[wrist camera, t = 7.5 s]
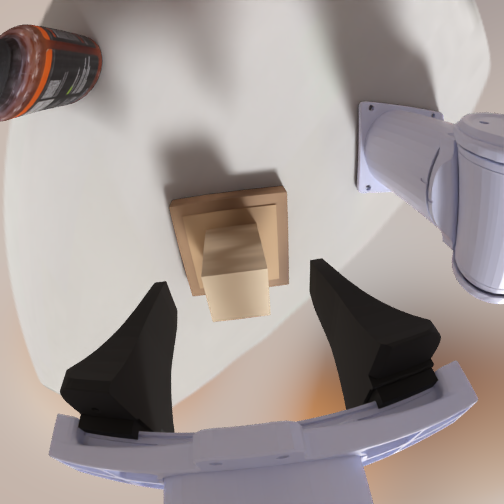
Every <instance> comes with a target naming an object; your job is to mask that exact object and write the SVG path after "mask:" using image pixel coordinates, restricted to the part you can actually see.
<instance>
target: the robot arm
mask: <svg viewBox="0 0 504 504" xmlns="http://www.w3.org/2000/svg"><path fill="white" fill-rule="evenodd" d="M370 105H371V106H372V109H371V110H369V106H370ZM432 114H433V117H432ZM367 185H369V188H368V189H366V186H367ZM357 190H358V191H359V192H360V193H375V192H393V193H395V194H396V195H397V196H399V197H400V198H401V199H403V200H404V201H405V202H407V203H408V204H409V205H411V206H412V207H413V208H414V209H416V210H417V211H418V212H419V213H421V214H422V215H423V216H424V217H426V218H427V219H428V220H429V221H430V222H432V223H433V224H434V225H435V226H436V227H438V228H439V229H440V231H441V233H442V236H443V242H445V244H447V245H448V246H449V247H450V248H451V249H452V250H453V256H452V268H453V272H454V275H455V277H456V279H457V280H458V282H459V284H460V285H461V286H462V287H463V288H464V289H465V290H466V291H467V292H469V294H471V295H473V296H474V297H476V298H478V299H480V300H482V301H485V302H488V303H494V304H504V114H498V113H488V112H482V113H481V112H480V113H471V114H467V115H465V116H463V117H462V118H461V120H460V121H458V122H457V123H456V124H453V123H449V122H446V121H444V116H443V114H442V113H441V112H436V111H431V110H426V109H420V108H415V107H408V106H402V105H394V104H386V103H377V102H366V101H363V102H361V103H360V104H359V149H358V174H357ZM310 295H311V298H312V302H313V305H314V308H315V311H316V313H317V315H318V318H319V320H320V322H321V325H322V327H323V329H324V332H325V334H326V336H327V339H328V341H329V343H330V346H331V349H332V352H333V355H334V359H335V363H336V366H337V370H338V374H339V378H340V382H341V387H342V391H343V395H344V400H345V406H346V410H344V411H340V412H337V413H333V414H329V415H325V416H321V417H316V418H312V419H307V420H303V421H297V422H293V421H277V422H269V423H262V424H255V425H246V426H236V427H224V428H212V429H204V430H200V431H198V432H196V433H174V425H173V415H172V400H171V367H172V359H173V352H174V345H175V338H176V331H177V308H176V306H175V303H174V301H173V298H172V296H171V293H170V290H169V288H168V285H167V282H166V281H164V282H157V283H154V285H153V286H152V287H151V289H150V290H149V291H148V293H147V294H146V295H145V297H144V298H143V300H142V301H141V302H140V304H139V305H138V306H137V308H136V309H135V310H134V311H133V313H132V314H131V315H130V316H129V318H128V319H127V320H126V321H125V323H124V324H123V325H122V326H121V327H120V328H119V329H118V330H117V331H116V332H115V333H114V334H113V335H112V336H111V337H110V338H109V339H108V340H107V341H106V342H105V343H104V344H103V345H102V346H100V347H99V348H98V349H97V350H96V351H94V352H93V353H92V354H91V355H89V356H88V357H86V358H85V359H84V360H82V361H81V362H79V363H77V364H76V365H74V366H73V367H71V368H69V369H67V371H66V374H65V377H64V380H63V383H62V386H61V389H60V394H61V396H62V397H63V399H64V400H65V401H66V402H67V403H69V404H70V405H71V406H72V407H73V408H74V409H75V410H77V411H78V412H79V413H80V414H81V416H80V419H78V418H76V417H73V416H68V415H63V414H58V415H57V419H56V423H55V427H54V432H53V436H52V441H51V445H50V451H49V456H50V457H52V458H54V459H56V460H58V461H59V462H62V463H63V464H65V465H67V466H69V467H72V468H73V469H75V470H78V471H80V472H83V473H87V474H91V475H94V476H98V477H102V478H106V479H110V480H115V481H118V482H123V483H128V484H133V485H138V486H143V487H150V488H156V489H164V504H373V500H372V497H371V493H370V490H369V485H368V482H367V478H366V475H365V471H364V468H363V466H366V465H368V464H371V463H374V462H376V461H379V460H381V459H383V458H386V457H388V456H390V455H392V454H395V453H397V452H399V451H401V450H403V449H405V448H408V447H410V446H412V445H413V444H416V443H417V442H419V441H421V440H423V439H425V438H427V437H429V436H431V435H433V434H434V433H436V432H438V431H440V430H442V429H443V428H445V427H447V426H448V425H450V424H452V423H454V422H455V421H456V420H457V419H458V418H459V417H460V416H462V415H463V414H464V413H465V412H466V411H467V410H468V409H469V408H470V407H471V406H473V405H474V404H475V403H476V402H477V400H478V398H477V396H476V394H475V392H474V390H473V388H472V386H471V384H470V383H469V381H468V379H467V378H466V376H465V374H464V372H463V370H462V369H461V367H460V365H459V363H458V362H457V361H453V362H451V363H449V364H448V365H445V366H443V367H441V368H439V369H438V370H437V371H435V373H434V371H433V369H432V367H433V365H434V363H433V362H432V360H431V357H432V356H433V354H434V352H435V351H436V349H437V347H438V345H439V343H440V339H441V336H440V334H439V332H438V331H437V329H436V328H435V326H434V325H433V323H432V322H431V321H430V320H428V319H424V318H421V317H417V316H413V315H411V314H408V313H405V312H403V311H400V310H398V309H395V308H393V307H391V306H389V305H387V304H385V303H383V302H381V301H379V300H377V299H375V298H374V297H372V296H370V295H369V294H367V293H365V292H364V291H362V290H361V289H359V288H358V287H357V286H355V285H354V284H353V283H351V282H350V281H348V280H347V279H346V278H345V277H343V276H342V275H341V274H340V273H339V272H338V271H336V270H335V269H334V268H333V267H332V266H330V265H329V264H328V263H327V262H326V261H325V260H323V259H315V260H310Z"/></svg>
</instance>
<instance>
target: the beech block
mask: <svg viewBox="0 0 504 504" xmlns="http://www.w3.org/2000/svg"><path fill="white" fill-rule="evenodd" d="M201 278H202V282H203V286H204V290H205V294H206V298H207V302H208V305H209V309H210V313H211V316H212V320H213V322H217V321H226V320H235V319H243V318H251V317H259V316H266V315H271V314H270V298H269V283H268V268H267V264H266V260H265V256H264V252H263V248H262V244H261V240H260V236H259V232H258V227H257V223H255V224H246V225H238V226H231V227H223V228H215V229H208V230H206V232H205V241H204V251H203V262H202V273H201Z"/></svg>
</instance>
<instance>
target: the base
mask: <svg viewBox="0 0 504 504" xmlns="http://www.w3.org/2000/svg"><path fill="white" fill-rule="evenodd" d="M169 209H170V213H171V218H172V222H173V226H174V230H175V234H176V238H177V242H178V246H179V249H180V253H181V257H182V261H183V264H184V268H185V271H186V275H187V278H188V282H189V285H190V289H191V292H192V296H199V295H206V294H205V290H204V286H203V282H202V278H201V273H202V262H203V251H204V241H205V232H206V230H208V229H215V228H223V227H231V226H238V225H246V224H255V223H257V227H258V232H259V236H260V240H261V244H262V248H263V252H264V256H265V260H266V264H267V268H268V283H269V287H272V286H280V285H287V284H289V255H288V212H287V192H286V190H285V188H284V187H283V186H276V187H266V188H256V189H248V190H239V191H231V192H224V193H216V194H209V195H202V196H195V197H189V198H182V199H176V200H172V202H171V204H170V207H169Z"/></svg>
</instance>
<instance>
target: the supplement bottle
mask: <svg viewBox="0 0 504 504" xmlns="http://www.w3.org/2000/svg"><path fill="white" fill-rule="evenodd" d="M101 67H102V56H101V51H100V49H99V46H98V45H97V44H96V43H95V42H94V41H93V40H92V39H90V38H87V37H85V36H82V35H78V34H74V33H70V32H66V31H62V30H57V29H52V28H47V27H42V26H35V25H19V26H16V27H13V28H11V29H9V30H7V31H6V32H4V33H3V34H2V35H0V121H6V120H9V119H12V118H16V117H19V116H23V115H26V114H30V113H33V112H37V111H41V110H45V109H50V108H54V107H59V106H64V105H68V104H72V103H74V102H76V101H78V100H80V99H82V98H83V97H84V96H86V95H87V94H88V92H89V91H90V90H91V89H92V88H93V87H94V85H95V83H96V82H97V79H98V77H99V74H100V72H101Z"/></svg>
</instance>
